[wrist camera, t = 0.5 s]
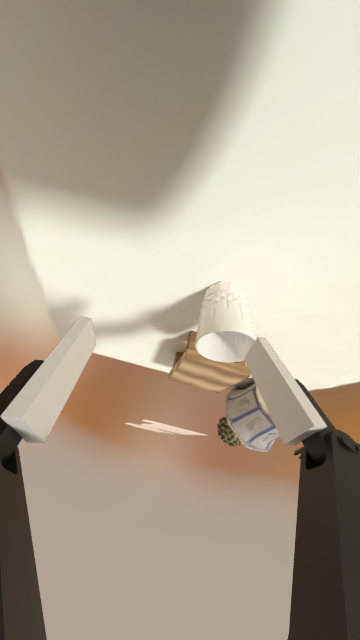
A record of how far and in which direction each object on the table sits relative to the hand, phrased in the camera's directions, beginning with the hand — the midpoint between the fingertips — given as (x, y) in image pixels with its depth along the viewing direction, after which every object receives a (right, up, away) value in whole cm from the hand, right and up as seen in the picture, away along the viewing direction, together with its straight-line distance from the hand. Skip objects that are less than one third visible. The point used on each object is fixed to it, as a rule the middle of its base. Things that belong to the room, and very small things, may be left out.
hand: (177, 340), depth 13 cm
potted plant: (+23, -24, +45) cm, 56 cm away
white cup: (+8, +6, +14) cm, 17 cm away
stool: (+7, -6, +28) cm, 30 cm away
